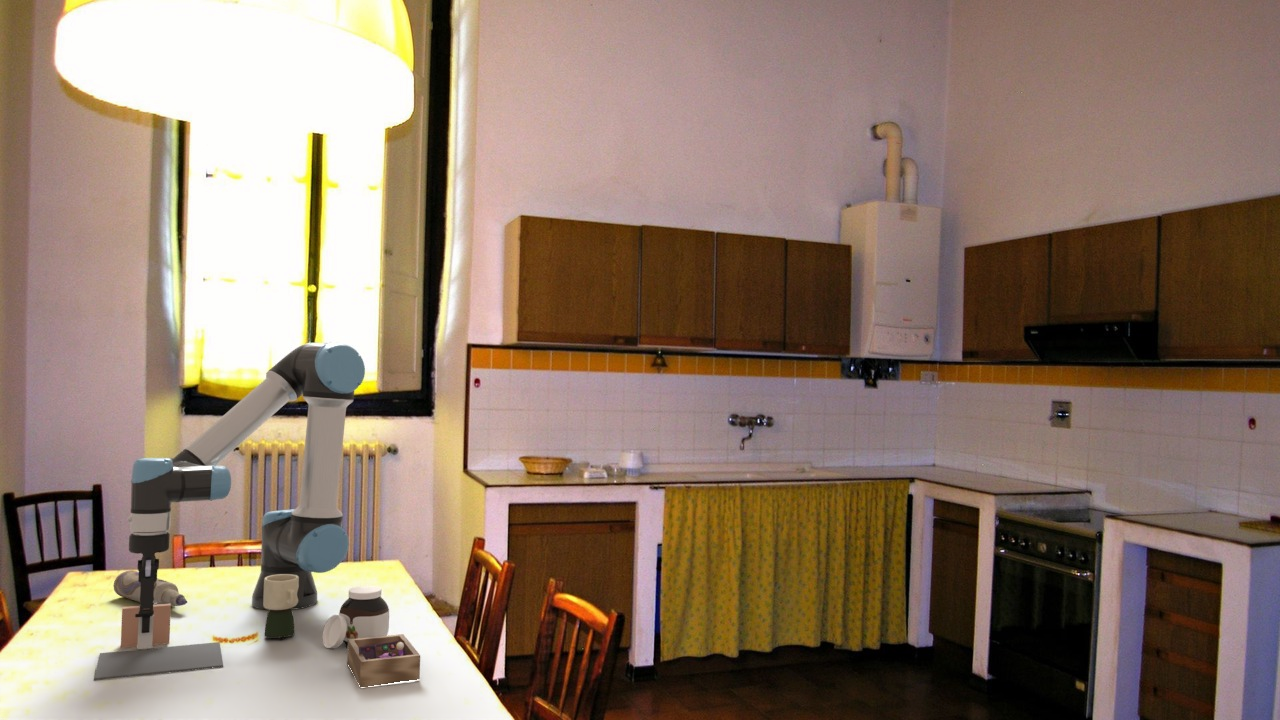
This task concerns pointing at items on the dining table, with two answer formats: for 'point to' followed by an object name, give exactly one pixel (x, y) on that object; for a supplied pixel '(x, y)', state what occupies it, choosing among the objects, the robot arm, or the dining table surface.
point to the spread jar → (358, 617)
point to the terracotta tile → (159, 625)
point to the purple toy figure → (370, 650)
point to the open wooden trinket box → (383, 662)
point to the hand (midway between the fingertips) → (145, 643)
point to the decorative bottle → (163, 590)
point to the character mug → (280, 604)
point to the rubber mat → (158, 660)
